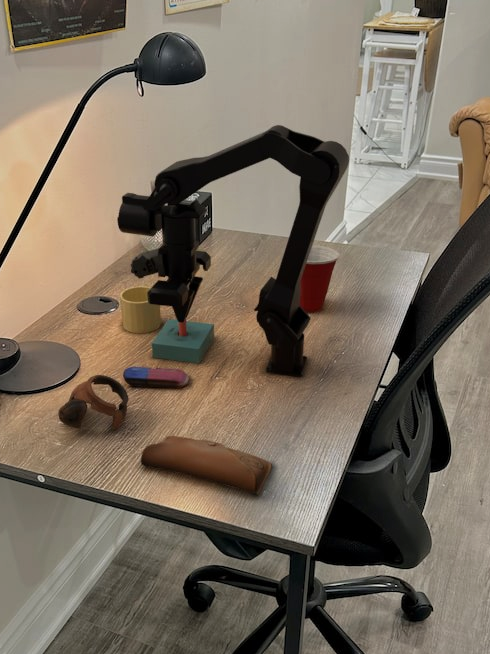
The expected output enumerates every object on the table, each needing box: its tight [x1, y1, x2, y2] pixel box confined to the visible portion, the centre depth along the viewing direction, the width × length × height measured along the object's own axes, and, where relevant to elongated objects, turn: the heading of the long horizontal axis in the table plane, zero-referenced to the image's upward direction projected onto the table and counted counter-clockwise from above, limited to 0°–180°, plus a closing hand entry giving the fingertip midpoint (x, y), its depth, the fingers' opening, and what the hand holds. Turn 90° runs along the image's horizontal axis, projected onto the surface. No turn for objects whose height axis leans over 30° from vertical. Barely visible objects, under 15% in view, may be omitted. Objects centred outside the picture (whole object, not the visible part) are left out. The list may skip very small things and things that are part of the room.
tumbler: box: [119, 285, 162, 334], centre depth 142 cm, size 8×8×6 cm
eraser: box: [122, 366, 190, 389], centre depth 125 cm, size 11×4×2 cm, turn 85°
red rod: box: [179, 318, 187, 336], centre depth 133 cm, size 1×1×9 cm
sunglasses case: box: [140, 435, 273, 495], centre depth 105 cm, size 18×7×7 cm
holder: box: [151, 318, 215, 364], centre depth 135 cm, size 10×9×3 cm
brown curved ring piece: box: [57, 374, 129, 430], centre depth 114 cm, size 12×10×8 cm
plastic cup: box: [299, 245, 341, 313], centre depth 146 cm, size 11×11×12 cm
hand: (182, 319), depth 133 cm, fingers closed on red rod, 1 cm apart
